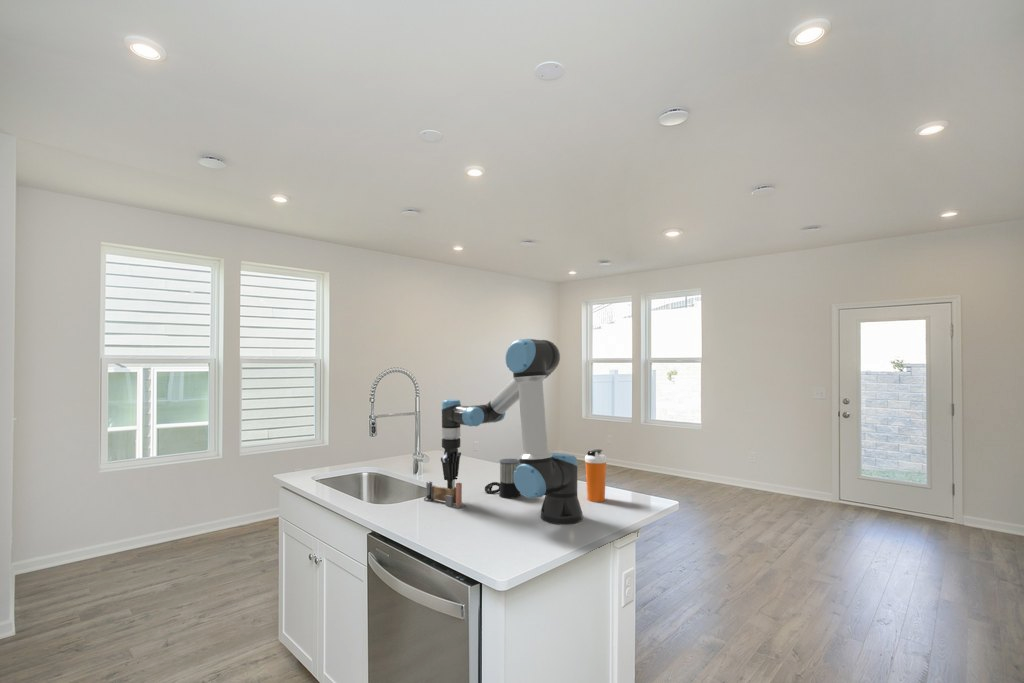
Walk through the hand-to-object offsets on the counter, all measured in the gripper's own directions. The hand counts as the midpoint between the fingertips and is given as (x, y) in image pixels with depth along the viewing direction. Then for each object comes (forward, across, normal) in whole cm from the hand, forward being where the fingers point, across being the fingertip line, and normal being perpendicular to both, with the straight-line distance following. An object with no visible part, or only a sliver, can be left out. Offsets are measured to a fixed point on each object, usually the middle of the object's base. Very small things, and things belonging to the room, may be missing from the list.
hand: (451, 496), depth 201 cm
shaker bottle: (+3, -25, +54) cm, 59 cm away
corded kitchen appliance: (+3, -19, +15) cm, 24 cm away
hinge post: (+2, +1, -10) cm, 10 cm away
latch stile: (+2, +5, +5) cm, 7 cm away
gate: (+1, +2, -1) cm, 3 cm away
